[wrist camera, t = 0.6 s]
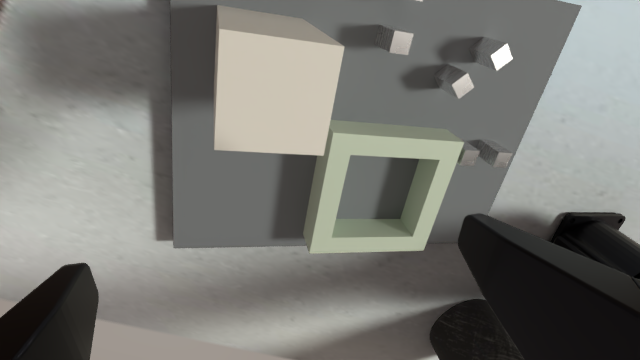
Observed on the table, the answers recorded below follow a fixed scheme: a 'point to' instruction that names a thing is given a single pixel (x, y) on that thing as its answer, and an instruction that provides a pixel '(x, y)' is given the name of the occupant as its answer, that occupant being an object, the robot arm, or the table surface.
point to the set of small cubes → (458, 85)
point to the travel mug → (472, 334)
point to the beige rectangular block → (273, 83)
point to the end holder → (422, 201)
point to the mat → (359, 112)
